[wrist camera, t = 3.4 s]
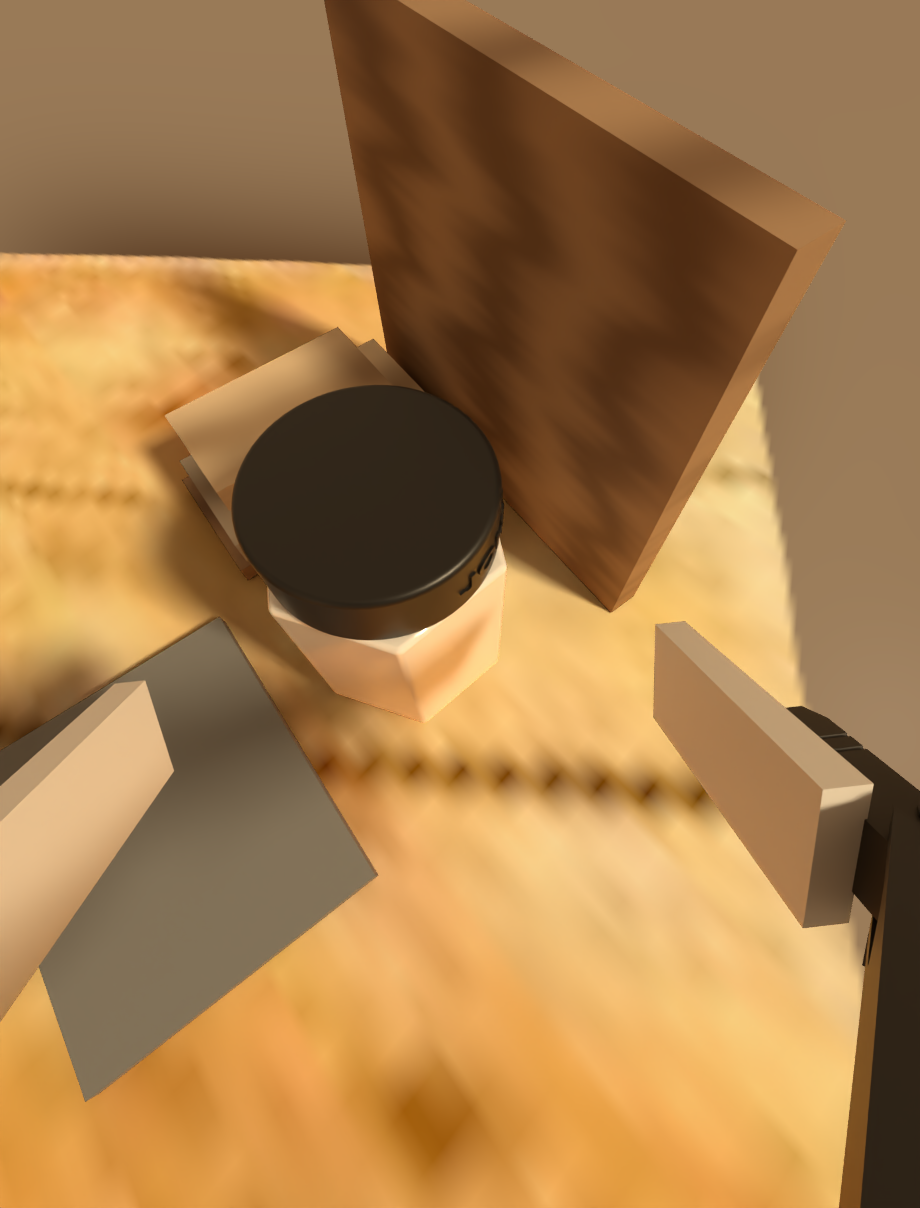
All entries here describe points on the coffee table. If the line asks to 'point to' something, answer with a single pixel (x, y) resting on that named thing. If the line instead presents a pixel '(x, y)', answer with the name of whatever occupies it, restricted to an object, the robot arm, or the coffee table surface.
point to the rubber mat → (195, 862)
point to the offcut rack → (539, 282)
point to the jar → (379, 543)
